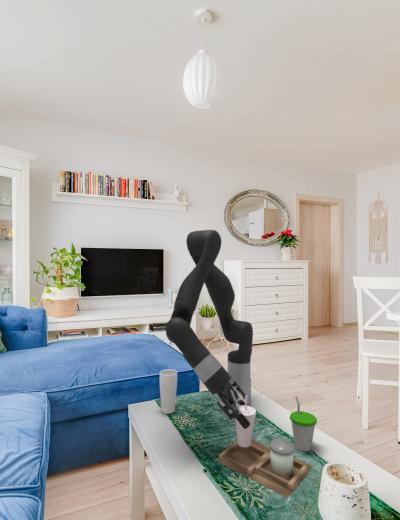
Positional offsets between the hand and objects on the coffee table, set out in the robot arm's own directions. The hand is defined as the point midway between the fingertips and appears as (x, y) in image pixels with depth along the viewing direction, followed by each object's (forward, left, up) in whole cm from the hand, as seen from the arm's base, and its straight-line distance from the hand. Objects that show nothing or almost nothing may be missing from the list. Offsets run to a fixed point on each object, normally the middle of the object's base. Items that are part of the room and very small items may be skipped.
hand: (250, 420), depth 92 cm
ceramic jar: (-2, +9, -11) cm, 15 cm away
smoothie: (+1, -2, -7) cm, 7 cm away
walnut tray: (-2, +4, -12) cm, 13 cm away
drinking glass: (-7, -40, -13) cm, 43 cm away
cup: (-17, +9, -13) cm, 22 cm away
